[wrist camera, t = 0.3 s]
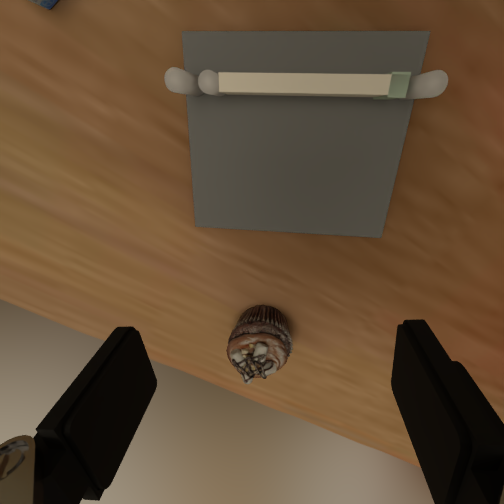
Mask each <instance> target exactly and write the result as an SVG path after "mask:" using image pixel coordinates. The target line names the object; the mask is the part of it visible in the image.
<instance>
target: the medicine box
mask: <svg viewBox="0 0 504 504" xmlns="http://www.w3.org/2000/svg"><path fill="white" fill-rule="evenodd" d="M29 1H31V2H33V3H35V4H37V5H40V6H42V7H44V8H46V9H51V8H52V7H53V6H54V4H55V3H56V2H57V1H58V0H29Z"/></svg>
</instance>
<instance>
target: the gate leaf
mask: <svg viewBox="0 0 504 504" xmlns="http://www.w3.org/2000/svg"><path fill="white" fill-rule="evenodd" d="M410 76H411V72H390V73H388V74H323V73H238V72H218V74H217V73H215V72H214V71H212V70H204V71H202V72H201V73H200V75H199V77H198V85H199V87H200V89H201V90H202V91H203V92H204V93H206V94H210V95H215V96H223V95H225V94H228V95H280V96H334V97H373V99H380V100H390V99H399V98H406V93H407V89H408V85H409V80H410Z"/></svg>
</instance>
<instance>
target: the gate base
mask: <svg viewBox="0 0 504 504" xmlns="http://www.w3.org/2000/svg"><path fill="white" fill-rule="evenodd" d="M429 35H430V31H182V42H183V56H184V70H185V71H184V70H182V69H179V68H176V67H172V68H169V69H168V70H167V71H166V73H165V84H166V86H167V88H168V89H169V90H170V91H172V92H175V93H181V94H186V99H187V113H188V128H189V142H190V156H191V171H192V185H193V199H194V213H195V227H210V228H226V229H243V230H259V231H276V232H292V233H309V234H325V235H341V236H358V237H374V238H381V237H382V233H383V228H384V224H385V220H386V216H387V212H388V207H389V203H390V199H391V195H392V191H393V186H394V182H395V178H396V174H397V170H398V165H399V161H400V157H401V153H402V149H403V144H404V140H405V136H406V132H407V128H408V123H409V119H410V115H411V111H412V107H413V102H414V99H420V98H431V97H436V96H438V95H440V94H441V93H442V92H443V91H444V90H445V89H446V87H447V84H448V76H447V74H446V73H445V72H444V71H442V70H435V71H431V72H427V73H424V74H420V73H421V69H422V65H423V60H424V56H425V52H426V48H427V44H428V39H429ZM204 70H212V71H214V72H215V73H217V74H218V72H238V73H323V74H388V73H390V72H411V76H410V80H409V85H408V89H407V93H406V98H399V99H390V100H380V99H373V97H334V96H280V95H228V94H225V95H223V96H215V95H210V94H206V93H204V92H203V91H202V90H201V89H200V87H199V85H198V77H199V75H200V73H201V72H202V71H204Z"/></svg>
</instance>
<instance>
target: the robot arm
mask: <svg viewBox="0 0 504 504" xmlns="http://www.w3.org/2000/svg"><path fill="white" fill-rule="evenodd" d="M391 386H392V391H393V394H394V397H395V399H396V402H397V405H398V407H399V410H400V413H401V415H402V418H403V421H404V423H405V426H406V429H407V431H408V434H409V436H410V439H411V442H412V444H413V447H414V450H415V452H416V455H417V458H418V460H419V463H420V466H421V468H422V471H423V473H424V476H425V479H426V482H427V484H428V487H429V489H430V492H431V495H432V498H433V500H434V503H435V504H504V424H503V422H502V421H501V419H500V418H499V416H498V415H497V414H496V412H495V411H494V409H493V408H492V406H491V405H490V403H489V402H488V401H487V399H486V398H485V396H484V395H483V393H482V392H481V390H480V389H479V388H478V386H477V385H476V383H475V382H474V380H473V379H472V377H471V376H470V375H469V373H468V372H467V370H466V369H465V367H464V366H463V365H462V364H461V363H459V362H458V361H451V359H450V358H449V356H448V354H447V353H446V351H445V350H444V348H443V347H442V345H441V344H440V342H439V341H438V339H437V338H436V336H435V335H434V333H433V332H432V330H431V329H430V327H429V326H428V324H427V323H426V321H425V320H423V319H422V320H404V322H403V324H399V325H398V327H397V335H396V344H395V352H394V361H393V369H392V378H391ZM156 387H157V379H156V377H155V374H154V371H153V368H152V365H151V363H150V360H149V357H148V355H147V352H146V349H145V346H144V344H143V341H142V338H141V335H140V333H139V331H138V330H136V329H135V328H134V327H117V328H116V329H115V330H114V331H113V332H112V333H111V335H110V336H109V337H108V338H107V340H106V341H105V342H104V343H103V345H102V346H101V347H100V348H99V350H98V351H97V352H96V354H95V355H94V356H93V357H92V359H91V360H90V361H89V362H88V364H87V365H86V366H85V367H84V369H83V370H82V371H81V372H80V374H79V375H78V376H77V378H76V379H75V380H74V381H73V382H72V384H71V385H70V386H69V388H68V389H67V390H66V391H65V393H64V394H63V395H62V396H61V398H60V399H59V400H58V401H57V403H56V404H55V405H54V406H53V408H52V409H51V410H50V412H49V413H48V414H47V415H46V417H45V418H44V419H43V420H42V422H41V423H40V424H39V425H38V427H37V428H36V431H37V434H36V435H35V436H34V438H32V437H31V436H27V435H22V436H17V437H14V438H12V439H9V440H7V441H6V442H4V443H2V444H1V445H0V504H79V503H80V501H81V500H82V498H83V499H85V500H98V501H99V500H100V498H101V496H102V494H103V492H104V490H105V489H107V488H108V487H109V486H110V484H111V483H112V481H113V479H114V477H115V475H116V472H117V470H118V468H119V466H120V464H121V462H122V460H123V457H124V456H125V453H126V451H127V449H128V447H129V445H130V443H131V441H132V439H133V437H134V434H135V432H136V430H137V428H138V426H139V424H140V422H141V420H142V417H143V415H144V413H145V411H146V409H147V407H148V405H149V403H150V401H151V398H152V396H153V394H154V392H155V390H156Z"/></svg>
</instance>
